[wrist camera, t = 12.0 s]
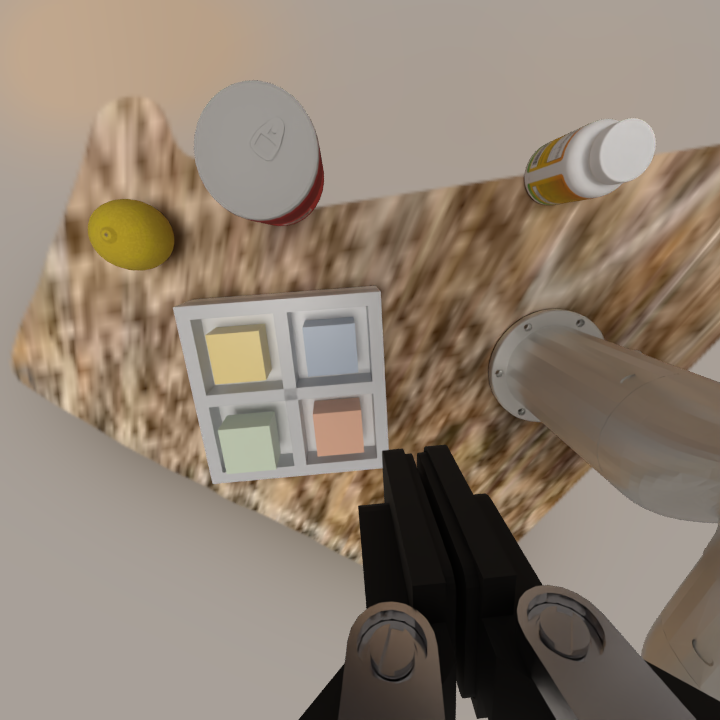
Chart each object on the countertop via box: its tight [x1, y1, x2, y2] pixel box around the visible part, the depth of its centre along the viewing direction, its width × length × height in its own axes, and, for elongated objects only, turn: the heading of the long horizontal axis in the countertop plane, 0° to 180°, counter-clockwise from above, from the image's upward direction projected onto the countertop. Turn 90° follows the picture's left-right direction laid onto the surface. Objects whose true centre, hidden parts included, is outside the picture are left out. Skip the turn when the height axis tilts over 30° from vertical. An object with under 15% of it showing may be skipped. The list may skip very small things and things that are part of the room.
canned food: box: [194, 80, 324, 226], centre depth 28 cm, size 8×8×11 cm
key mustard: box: [205, 324, 272, 384], centre depth 34 cm, size 5×5×3 cm
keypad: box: [173, 286, 389, 484], centre depth 37 cm, size 18×18×4 cm
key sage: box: [218, 411, 281, 474], centre depth 35 cm, size 5×5×3 cm
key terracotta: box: [313, 397, 364, 457], centre depth 37 cm, size 5×5×3 cm
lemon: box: [88, 199, 174, 270], centre depth 30 cm, size 6×6×8 cm
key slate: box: [302, 317, 358, 377], centre depth 35 cm, size 5×5×3 cm
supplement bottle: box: [525, 118, 656, 205], centre depth 30 cm, size 5×5×10 cm
